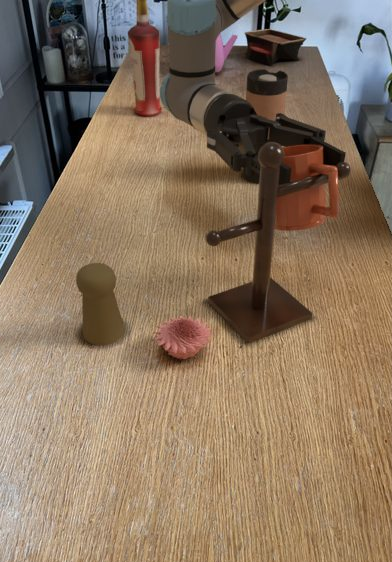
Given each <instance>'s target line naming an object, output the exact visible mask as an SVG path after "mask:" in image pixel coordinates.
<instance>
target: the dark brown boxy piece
mask: <svg viewBox="0 0 392 562" xmlns="http://www.w3.org/2000/svg"><path fill="white" fill-rule="evenodd" d="M244 35H245V38H246V44H247V51H246V59H248V60H250V61H252V62H255V63H259V64H262V65H265V66H269V67H270V66H273V65H274V64H275V63H276V62H277V61H278V60H295V61H300V59H299V57H298V56H299V50H300V48H301V47H302V46H303V45H304V42H306V40H307V37H304V36H301V35H300V36H299V35H296V34H292V33H288V32H285V31H280V30H276V29H271V28H268V29H267V28H266V29H265V28H264V29H257V30H250V31H245V32H244Z"/></svg>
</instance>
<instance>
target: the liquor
mask: <svg viewBox="0 0 392 562" xmlns="http://www.w3.org/2000/svg"><path fill="white" fill-rule="evenodd" d="M127 39H128V47H129V56H130V63H131V71H132V80H133V89H134V98H135V107H134V112H135V113H137V115H139V116H141V117H155V116H158V115H159V114H160V113H161V112H162V110H163V107H162V106H161V98H160V30H159V29H158V28H156V26H154V25H152V24H150V17H149V9H148V3H147V0H136V24H135V25H133V26H132V27H131V28H130V29H129V30H128V31H127Z"/></svg>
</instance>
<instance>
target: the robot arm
mask: <svg viewBox="0 0 392 562" xmlns="http://www.w3.org/2000/svg"><path fill="white" fill-rule="evenodd" d="M265 1H267V0H167V3H166V4H167V5H166V7H167V9H166V10H167V12H166V13H167V14H166V17H165V19H166V21H165V22H166V25H167V42H168V43H167V44H168V45H167V46H168V47H169V52H168V65H169V66H168V67H169V68H168V69H169V71H168V73H167V74H166V75H165V76H164V77H163V80H162V83H161V85H160V87H159V91H160V102H161V104H162V106H163V107H164V108H165V110H167V112H168V113H170V114H171V115H172V116H173V117H174V118H175V119H177V120H179V121H181V122H184V123H185V124H187V125H189V126H191V127H192V128H193V129H195V130H197V131H198V132H200V133H201V134H203V135H205V136H206V148H207V149H209V150H211V151H213V152H215V154H217V155H218V157H220V159H221V160H222V161H223V162H225V164H226V165H227V166H228V167H229V168H230V169H231V170H232V171H233V172H235V173H238V172H239V173H240V172H241V171H242V169H243V168H246V175H248V176H252V175H254V171H255V172H257V173H259V174H260V166H261V165H260V163H259V161H258V152H259V151H258V152H257V155H255V153H256V151H255V149H254V147H253V145H254V144H258V143H259V144H263V145H264V144H266V143H268V142H275V143H278V144H279V145H280V146H282V147H287V146H294V145H306V144H314V145H321V146H323V152H324V165H331V166H336V165H337V164H338V163H339V162H345V161H346V160H345V159H346V152H345V151H343V150H342V149H339V148H338V147H336V146H334V145H332V144H330V143H329V142H326V141H325V140H326V134H327V132H326V130H324V129H323V128H319V127H316V126H314V125H311V124H308V123H305V122H302V121H299V120H296V119H293V118H291V117H288V116H287V115H286V114H285V115H284V114H282V113H277V114H276V119H273V120H269V119H267V118H266V117H262V116H259V115H257V113H256V112H255V110H254V108H253V106H252V105H251V104H250V103H249V102H248V101H247V100H246V98H242V97H241V96H239V95H237V94H235V93H233V92H232V91H230V90H228V89H225V88H223V87H221V86H219V85H217V83H216V72H215V50H216V39H217V37H218V36H219V34H221V33H222V32H224V31H225V30H227V29H228V28H230V27H231V26H232V25H234V24H235V23H236V22H238V21H239V20H241V18H243V17H244V16H246V15H247V14H248V13H250V12H251V11H253V10H255V9H256V8H258V7H259V6H260V5H262V4H263V3H265ZM268 134H269V139H267V138H268ZM290 178H291V167H289V166H287V165H286V164H284V163H282V164H281V165H280V174H279V185H282V184H285V183H289V182H290Z"/></svg>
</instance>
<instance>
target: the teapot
mask: <svg viewBox="0 0 392 562" xmlns="http://www.w3.org/2000/svg"><path fill="white" fill-rule="evenodd" d="M238 36H239V35H237V34H231V37H230V38H229V39H228V41H227V42H226V43H225V45H224V42H223V38H222V34H221V33H220V34H219V36H218V37H217V39H216V50H215V73H219V72H221V70H222V69H223V66H224V64H225V61H226V59H227V57H228V56H229V54H230V53H231V50H232V48H233V47H234V45H235V43H236V41H237V39H238ZM167 53H169V46H168V48H167Z"/></svg>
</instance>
